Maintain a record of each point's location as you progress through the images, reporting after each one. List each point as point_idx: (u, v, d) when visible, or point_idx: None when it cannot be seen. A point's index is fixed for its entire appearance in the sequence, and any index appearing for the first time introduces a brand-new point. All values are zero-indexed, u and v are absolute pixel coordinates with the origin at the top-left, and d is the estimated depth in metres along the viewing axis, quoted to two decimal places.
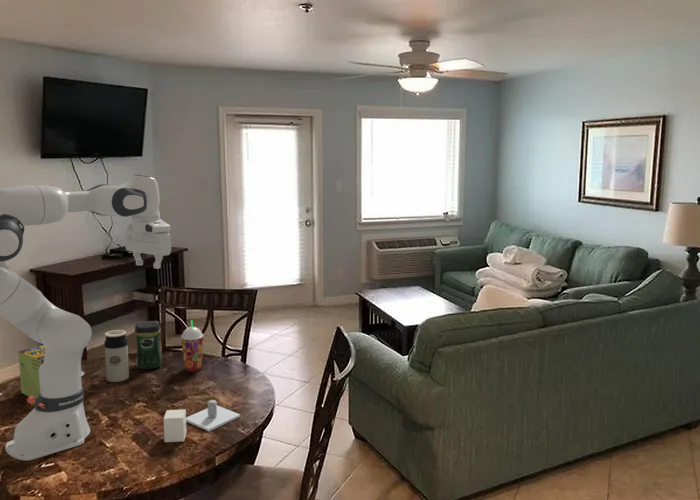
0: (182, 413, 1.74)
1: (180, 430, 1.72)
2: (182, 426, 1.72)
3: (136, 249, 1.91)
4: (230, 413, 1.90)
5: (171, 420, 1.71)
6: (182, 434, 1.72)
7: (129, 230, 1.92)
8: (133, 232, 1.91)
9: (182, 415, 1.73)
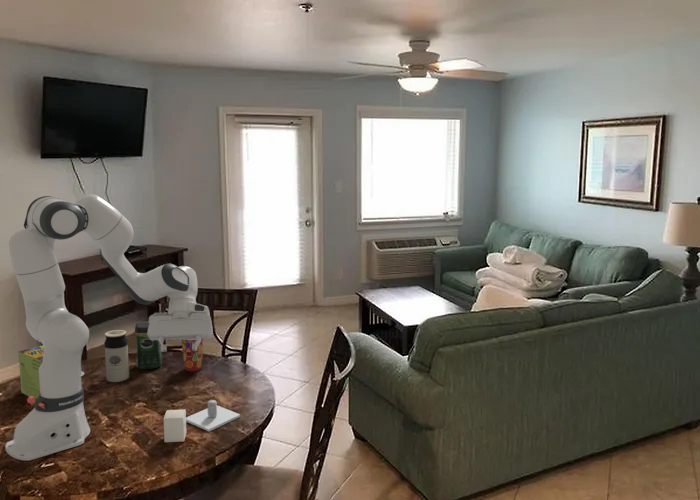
0: (182, 413, 1.74)
1: (180, 430, 1.72)
2: (182, 426, 1.72)
3: (168, 332, 1.85)
4: (230, 413, 1.90)
5: (171, 420, 1.71)
6: (182, 434, 1.72)
7: (158, 316, 1.88)
8: (166, 316, 1.88)
9: (182, 415, 1.73)
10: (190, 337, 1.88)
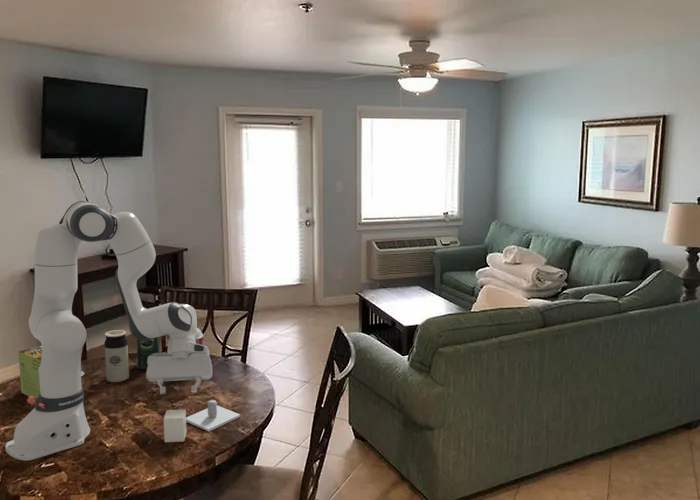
0: (182, 413, 1.74)
1: (180, 430, 1.72)
2: (182, 426, 1.72)
3: (167, 373, 1.82)
4: (230, 413, 1.90)
5: (171, 420, 1.71)
6: (182, 434, 1.72)
7: (157, 356, 1.85)
8: (165, 357, 1.85)
9: (182, 415, 1.73)
10: (189, 378, 1.85)
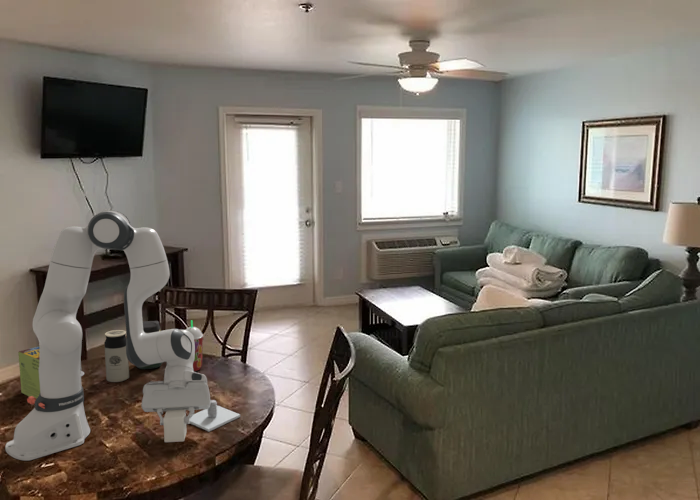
0: (182, 413, 1.74)
1: (180, 430, 1.72)
2: (182, 426, 1.72)
3: (164, 404, 1.75)
4: (230, 413, 1.90)
5: (171, 420, 1.71)
6: (182, 434, 1.72)
7: (153, 385, 1.78)
8: (161, 386, 1.78)
9: (182, 415, 1.73)
10: (186, 408, 1.78)
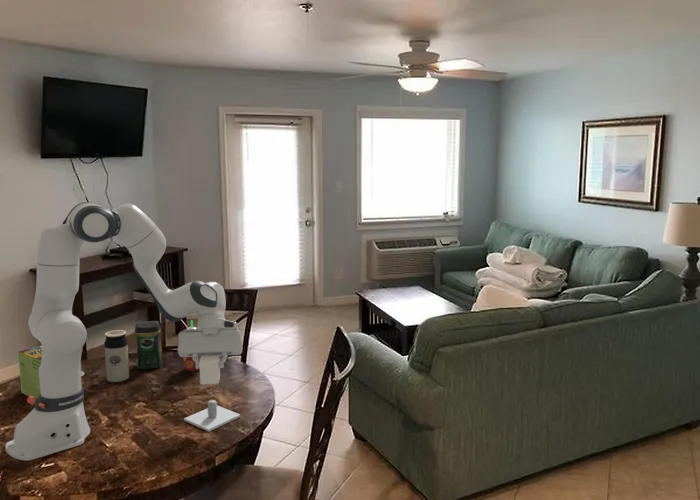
0: (216, 357, 1.84)
1: (215, 373, 1.82)
2: (217, 369, 1.81)
3: (198, 349, 1.85)
4: (230, 413, 1.90)
5: (206, 363, 1.81)
6: (217, 377, 1.82)
7: (188, 332, 1.88)
8: (195, 333, 1.87)
9: (216, 359, 1.82)
10: (220, 354, 1.87)
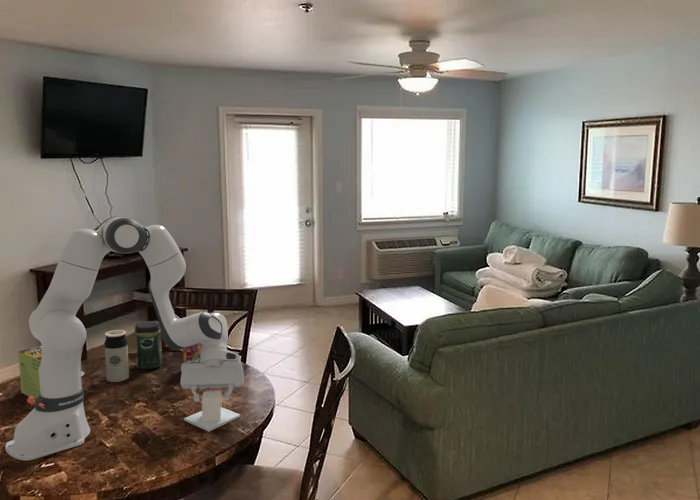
0: (218, 394, 1.86)
1: (217, 409, 1.84)
2: (219, 406, 1.84)
3: (201, 381, 1.87)
4: (230, 413, 1.90)
5: (209, 400, 1.83)
6: (219, 413, 1.85)
7: (191, 364, 1.90)
8: (198, 365, 1.90)
9: (219, 395, 1.85)
10: (222, 385, 1.90)
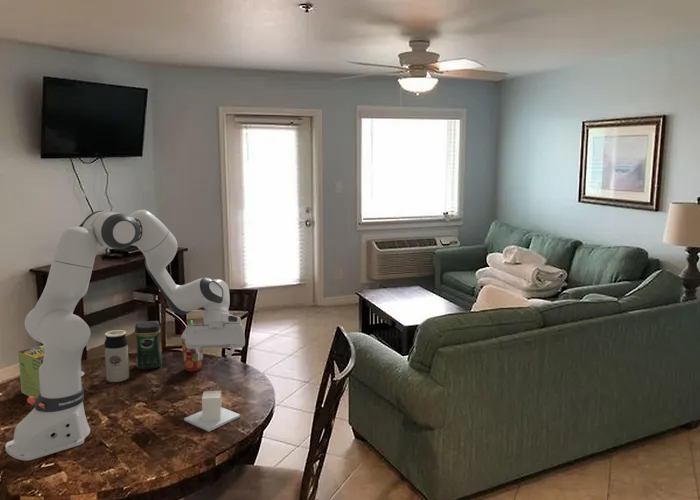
0: (218, 394, 1.86)
1: (217, 409, 1.84)
2: (219, 406, 1.84)
3: (204, 341, 1.98)
4: (230, 413, 1.90)
5: (209, 400, 1.83)
6: (219, 413, 1.85)
7: (195, 326, 2.01)
8: (202, 327, 2.01)
9: (219, 395, 1.85)
10: (224, 346, 2.01)
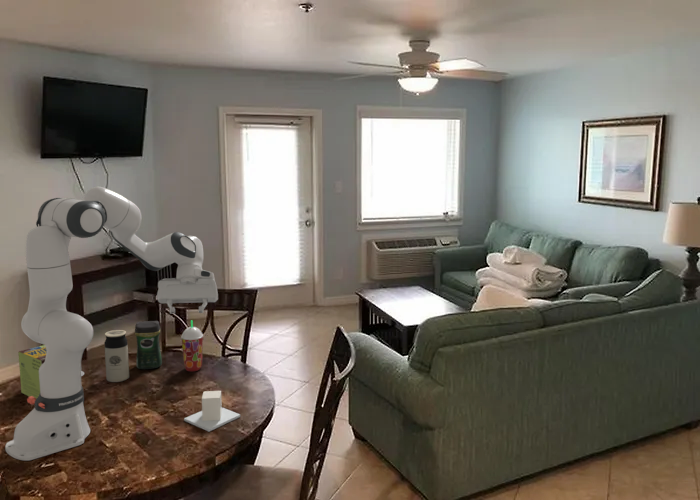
0: (218, 394, 1.86)
1: (217, 409, 1.84)
2: (219, 406, 1.84)
3: (176, 295, 1.98)
4: (230, 413, 1.90)
5: (209, 400, 1.83)
6: (219, 413, 1.85)
7: (167, 281, 2.01)
8: (174, 281, 2.01)
9: (219, 395, 1.85)
10: (197, 301, 2.01)
